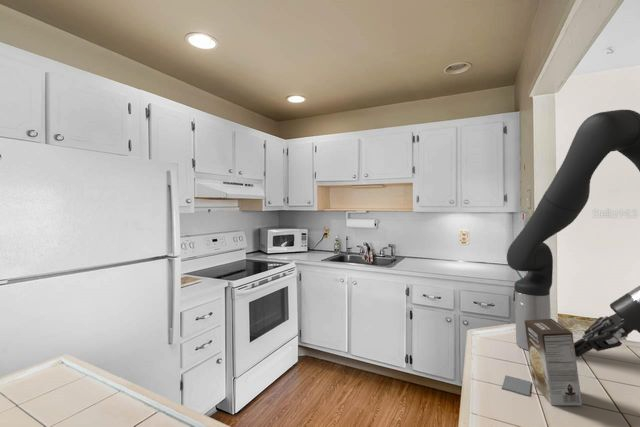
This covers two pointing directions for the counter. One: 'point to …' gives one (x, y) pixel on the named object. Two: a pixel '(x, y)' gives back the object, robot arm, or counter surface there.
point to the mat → (516, 385)
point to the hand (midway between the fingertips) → (572, 352)
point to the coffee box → (553, 361)
